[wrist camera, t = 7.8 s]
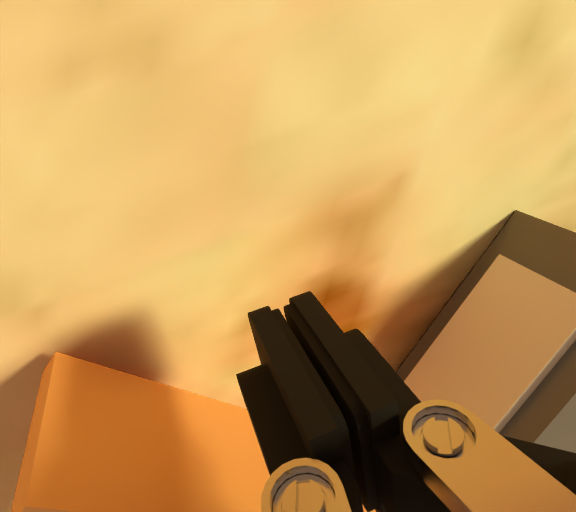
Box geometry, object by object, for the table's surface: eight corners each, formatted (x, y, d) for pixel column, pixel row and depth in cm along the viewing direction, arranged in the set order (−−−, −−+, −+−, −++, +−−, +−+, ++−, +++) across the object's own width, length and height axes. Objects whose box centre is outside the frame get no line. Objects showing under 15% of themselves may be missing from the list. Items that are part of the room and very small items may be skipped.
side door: (32, 387, 12) (-9, 556, 8) (56, 350, 12) (26, 503, 8) (325, 460, 19) (385, 574, 15) (344, 437, 19) (410, 546, 15)
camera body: (510, 205, 17) (697, 274, 12) (600, 287, 22) (761, 362, 17) (314, 471, 20) (391, 631, 14) (435, 490, 25) (526, 614, 19)
